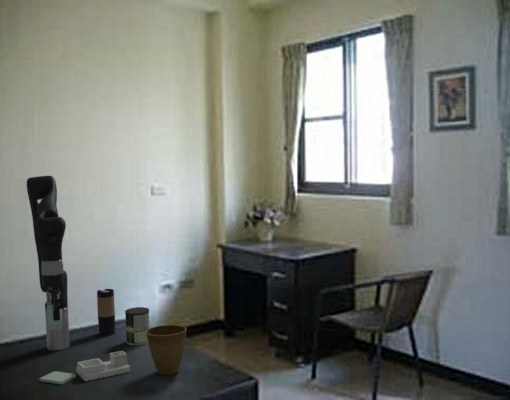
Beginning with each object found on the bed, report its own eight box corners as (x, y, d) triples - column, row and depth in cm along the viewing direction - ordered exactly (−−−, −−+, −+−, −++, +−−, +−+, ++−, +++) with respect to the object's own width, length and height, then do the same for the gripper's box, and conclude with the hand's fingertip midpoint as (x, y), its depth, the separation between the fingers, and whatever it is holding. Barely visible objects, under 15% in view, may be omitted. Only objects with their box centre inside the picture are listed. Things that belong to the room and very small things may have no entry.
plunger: (113, 362, 235) (113, 353, 235) (121, 360, 237) (120, 351, 236) (116, 364, 233) (115, 355, 232) (123, 363, 234) (123, 353, 234)
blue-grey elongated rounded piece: (46, 327, 225) (44, 300, 225) (60, 324, 228) (59, 298, 227) (49, 330, 221) (48, 302, 220) (64, 328, 224) (63, 300, 223)
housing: (76, 372, 232) (75, 357, 231) (120, 363, 241) (119, 348, 240) (85, 381, 223) (84, 365, 222) (130, 371, 231) (129, 356, 231)
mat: (39, 381, 224) (39, 378, 224) (54, 373, 232) (54, 371, 231) (61, 384, 220) (61, 381, 220) (76, 376, 228) (76, 374, 227)
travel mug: (111, 336, 279) (109, 292, 278) (95, 335, 281) (93, 292, 279) (118, 331, 287) (116, 288, 285) (103, 331, 288) (101, 288, 287)
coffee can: (122, 345, 265) (121, 312, 264) (131, 338, 275) (129, 307, 274) (146, 345, 264) (144, 313, 263) (153, 338, 274) (152, 307, 273)
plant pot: (194, 367, 235) (193, 325, 234) (177, 380, 221) (175, 336, 220) (159, 363, 240) (157, 323, 239) (140, 376, 226) (138, 333, 225)
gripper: (37, 270, 227) (39, 316, 228) (46, 276, 215) (49, 324, 216) (58, 268, 231) (60, 313, 232) (68, 273, 219) (70, 321, 220)
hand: (54, 318), depth 224 cm, fingers closed on blue-grey elongated rounded piece, 5 cm apart
